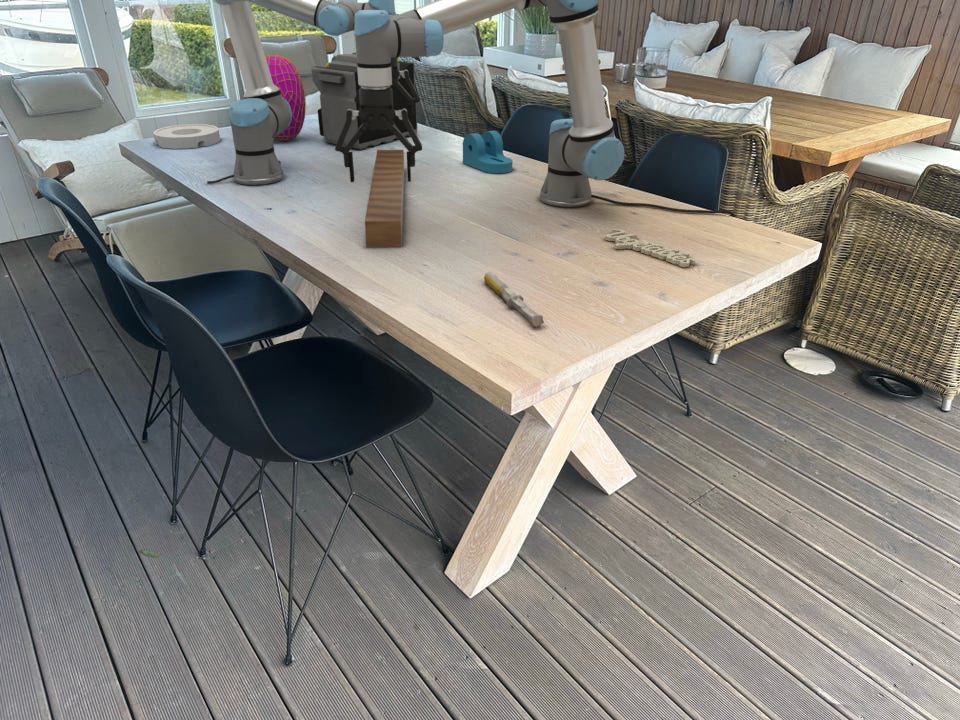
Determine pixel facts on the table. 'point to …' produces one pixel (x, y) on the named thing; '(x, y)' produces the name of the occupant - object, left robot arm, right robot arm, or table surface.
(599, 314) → the table surface
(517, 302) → the syringe
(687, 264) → the decorative sign
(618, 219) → the table surface
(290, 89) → the decorative egg
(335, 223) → the table surface
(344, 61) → the cooler box
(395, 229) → the wide beam
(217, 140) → the beige round base
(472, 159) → the camera mount
